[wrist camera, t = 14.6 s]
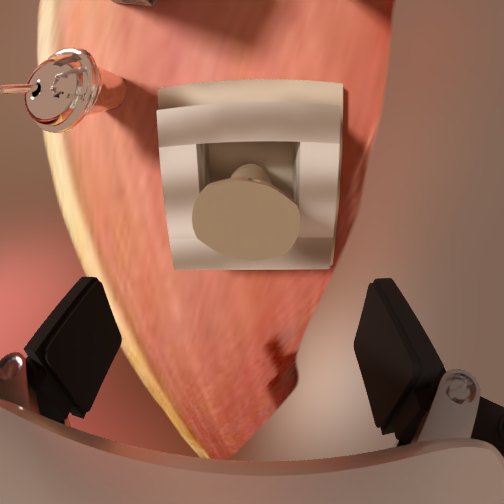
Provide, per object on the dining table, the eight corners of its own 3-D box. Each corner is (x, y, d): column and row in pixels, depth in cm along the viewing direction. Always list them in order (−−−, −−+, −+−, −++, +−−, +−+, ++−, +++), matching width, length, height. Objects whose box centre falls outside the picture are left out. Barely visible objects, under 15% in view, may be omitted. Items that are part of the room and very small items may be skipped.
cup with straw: (138, 123, 28) (11, 147, 11) (79, 127, 28) (-46, 160, 10) (145, 56, 25) (26, 16, 7) (83, 66, 24) (-40, 58, 7)
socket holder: (161, 89, 27) (135, 83, 20) (339, 84, 26) (361, 76, 20) (177, 261, 37) (161, 292, 30) (330, 261, 36) (343, 292, 29)
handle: (275, 203, 31) (288, 268, 18) (218, 192, 31) (187, 248, 17) (285, 161, 29) (309, 194, 16) (226, 150, 29) (198, 172, 15)
